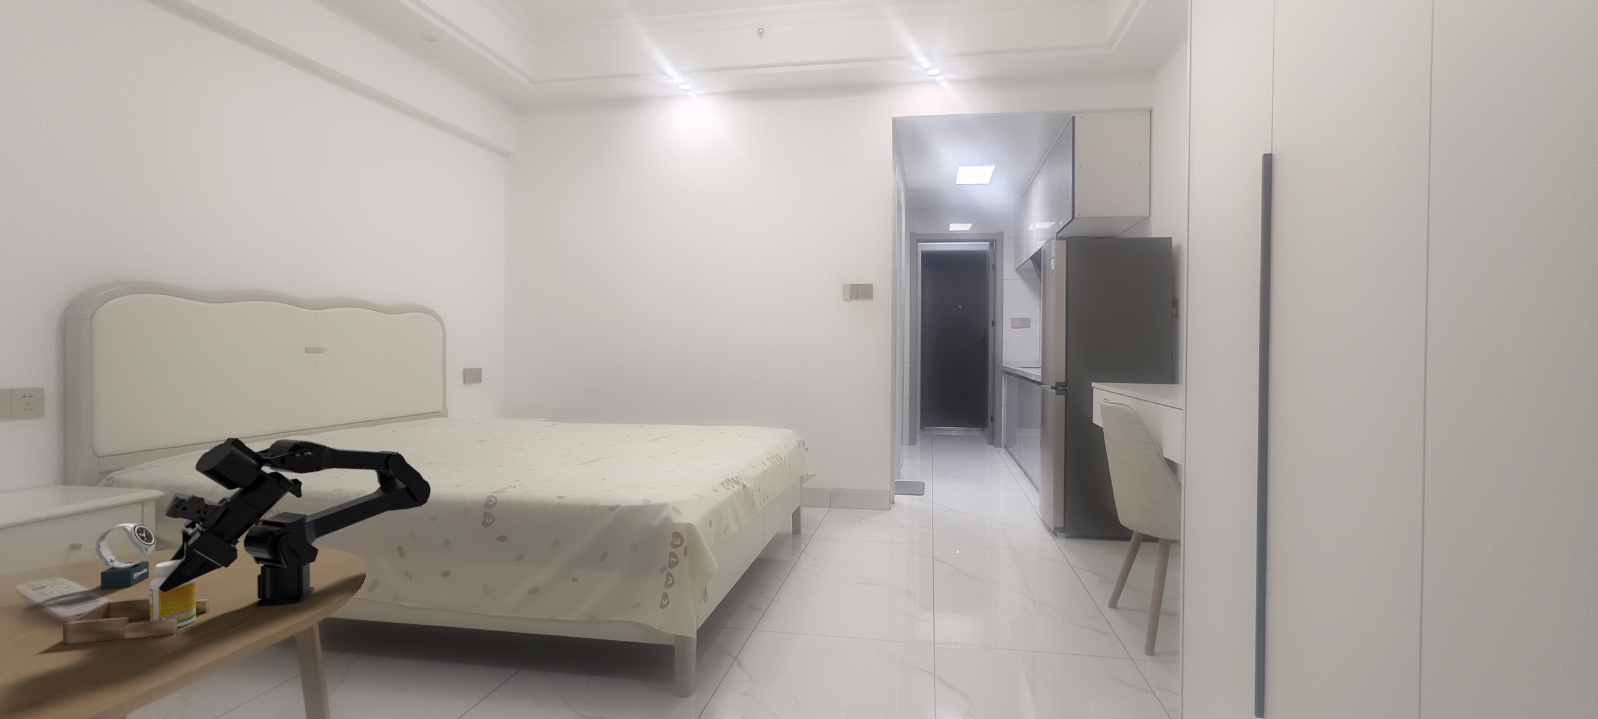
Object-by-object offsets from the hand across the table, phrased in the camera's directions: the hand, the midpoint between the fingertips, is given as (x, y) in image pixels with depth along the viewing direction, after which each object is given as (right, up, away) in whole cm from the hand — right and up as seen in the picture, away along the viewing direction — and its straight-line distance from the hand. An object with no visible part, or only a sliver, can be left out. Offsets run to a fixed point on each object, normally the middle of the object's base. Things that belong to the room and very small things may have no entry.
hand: (160, 584), depth 107 cm
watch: (-25, -6, +20) cm, 32 cm away
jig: (-2, -7, 0) cm, 7 cm away
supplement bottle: (+1, -7, +1) cm, 7 cm away
